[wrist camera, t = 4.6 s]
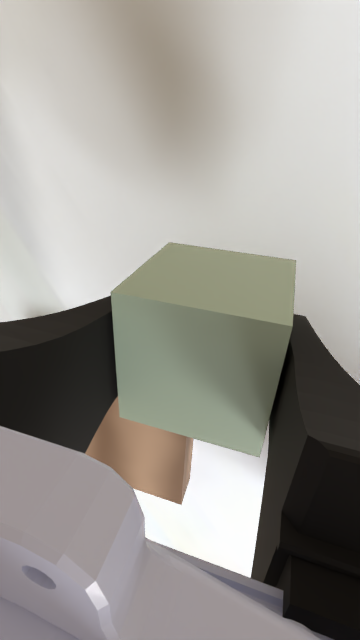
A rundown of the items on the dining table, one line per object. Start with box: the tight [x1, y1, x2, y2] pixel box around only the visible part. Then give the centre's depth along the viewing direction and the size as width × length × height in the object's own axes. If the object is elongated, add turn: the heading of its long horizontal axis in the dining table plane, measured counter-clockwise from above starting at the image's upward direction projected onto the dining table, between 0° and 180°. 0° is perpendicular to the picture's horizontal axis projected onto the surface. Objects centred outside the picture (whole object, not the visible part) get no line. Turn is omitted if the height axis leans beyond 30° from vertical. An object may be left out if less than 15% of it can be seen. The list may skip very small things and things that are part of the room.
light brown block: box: [85, 396, 193, 504], centre depth 27 cm, size 12×12×2 cm
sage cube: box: [111, 242, 296, 457], centre depth 11 cm, size 4×4×4 cm
